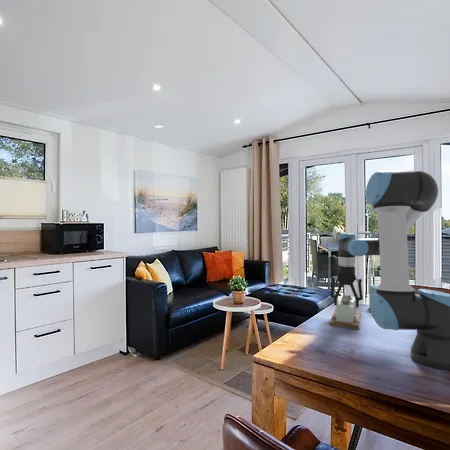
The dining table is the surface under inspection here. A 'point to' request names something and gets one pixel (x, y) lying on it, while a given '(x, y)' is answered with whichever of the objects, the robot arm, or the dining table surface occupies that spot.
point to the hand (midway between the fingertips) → (346, 313)
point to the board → (346, 324)
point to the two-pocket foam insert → (345, 310)
